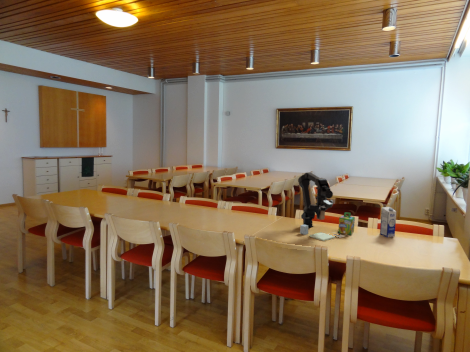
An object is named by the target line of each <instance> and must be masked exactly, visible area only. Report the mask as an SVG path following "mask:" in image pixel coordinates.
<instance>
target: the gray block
mask: <svg viewBox="0 0 470 352" xmlns="http://www.w3.org/2000/svg"><path fill="white" fill-rule="evenodd" d="M299 227H300V229H299V230H300V231H299V234H301V235H304V236H305V235H309V228H308V225H303V224H300V225H299Z"/></svg>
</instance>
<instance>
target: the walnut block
mask: <svg viewBox="0 0 470 352" xmlns="http://www.w3.org/2000/svg"><path fill="white" fill-rule="evenodd" d="M325 215H326V211H323V210H321V211H320V217H319V218H318V217H317V216H316V220H320V221H322V220H325V217H326V216H325Z"/></svg>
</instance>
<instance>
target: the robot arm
mask: <svg viewBox="0 0 470 352" xmlns="http://www.w3.org/2000/svg"><path fill="white" fill-rule="evenodd" d="M297 181H298V185H299V187H300V188H301V190H302V196H303V202H304V203H303V204H304V208H303V211H302V214H301V216H300V217H301V219H303V220H302V221H303V222H302V225H308V229H309V228H312V227H313V228H314V225H313V220H314V219H315V216H316V218H317V217H318V218H319V217H320V211H321V210H323V211H325V212H326V211H327V210H328V209H330V208H332V207H333V206H334V201H333V200H332V197H333V195H334V192H333V191H332V189H331V188H330V185H329V183H328V180H327V178H323V177H319V176H318V175H316V174H315V173H314V174H313V173H312V172H305V173H304V174H302V175H300V176H299V178H298V179H297ZM311 182H313V183H314V185H315V186H316V188H315V190H316V197H315V199H316V202H315V204H312V202H311V195H310V190H309V186H310V183H311ZM328 199H331V200H328Z"/></svg>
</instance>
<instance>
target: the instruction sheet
mask: <svg viewBox="0 0 470 352" xmlns="http://www.w3.org/2000/svg"><path fill="white" fill-rule="evenodd" d="M337 234H338V233H337ZM337 234H333V235H336V236H337V237H336V238H338V237H339V239H341V238H344V237H346V235H345V234H342V233H339V234H340V235H337Z"/></svg>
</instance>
